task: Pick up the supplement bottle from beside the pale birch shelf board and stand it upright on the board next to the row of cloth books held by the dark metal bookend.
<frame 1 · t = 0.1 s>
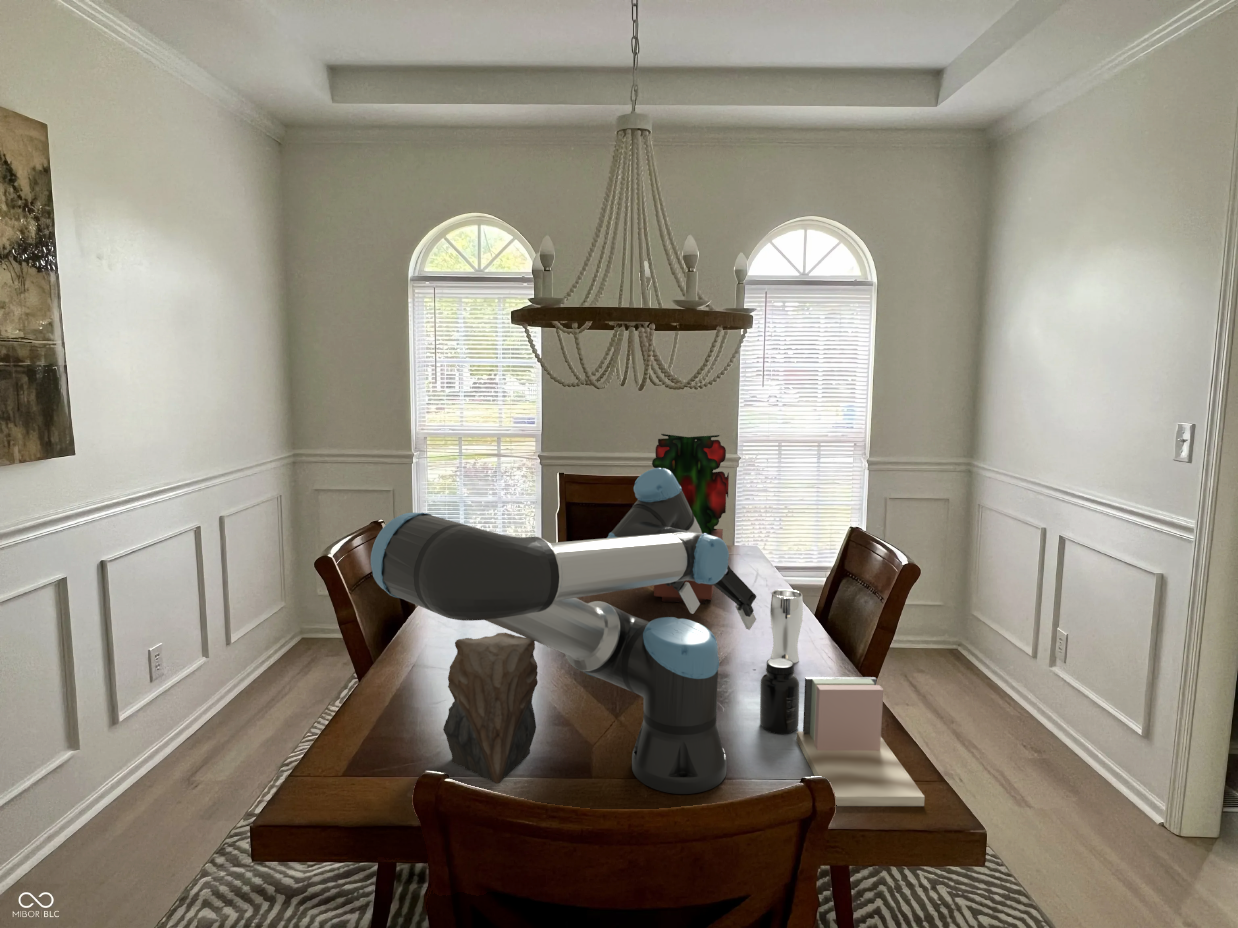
hand: (722, 616, 149), 15 cm above the table, tool tilted 35°, fingers open, 13 cm apart
book row: (845, 712, 127), on the shelf board, point 7 cm above the table
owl: (491, 762, 123), on the table
beer glass: (784, 659, 167), on the table
potted plant: (684, 596, 213), on the table
supplement bottle: (778, 727, 136), on the table
shelf board: (857, 773, 120), on the table
bookend: (839, 705, 130), on the shelf board, point 6 cm above the table
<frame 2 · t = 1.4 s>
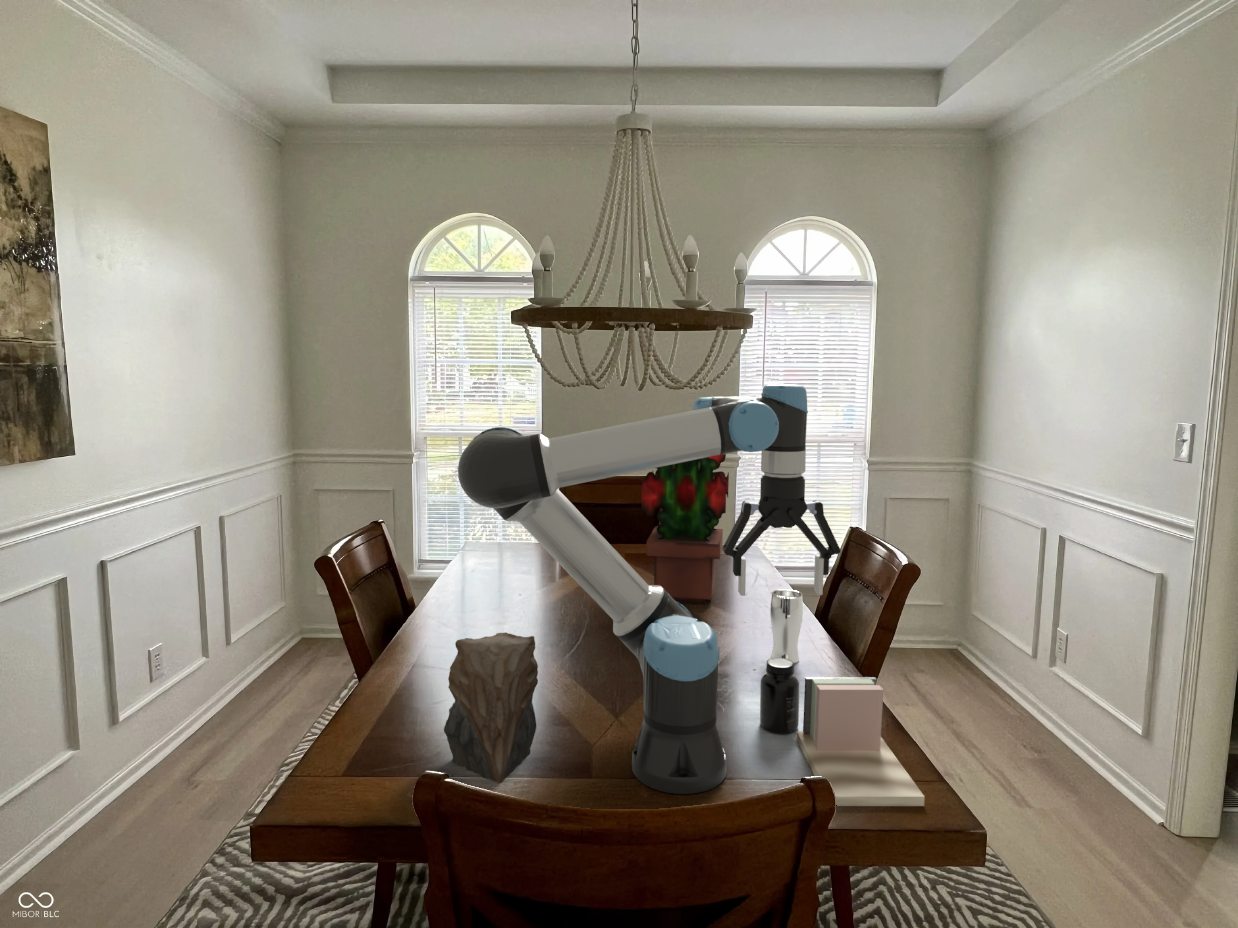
hand: (780, 593, 133), 24 cm above the table, tool pointing down, fingers open, 13 cm apart
nothing on the table moved.
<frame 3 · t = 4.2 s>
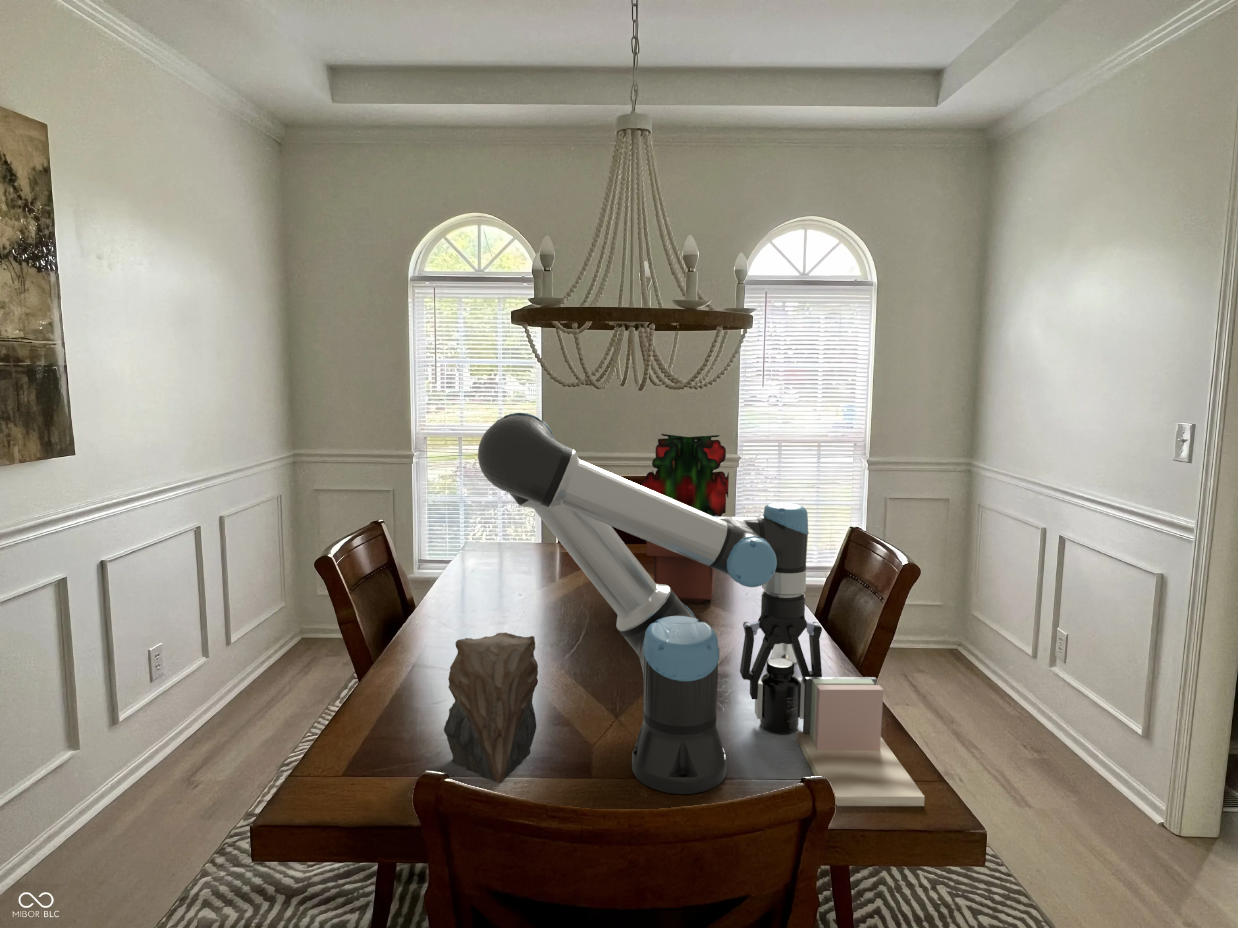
hand: (779, 715, 136), 2 cm above the table, tool pointing down, fingers closed on supplement bottle, 7 cm apart
supplement bottle: (778, 726, 136), on the table, touching gripper
everything else where it was.
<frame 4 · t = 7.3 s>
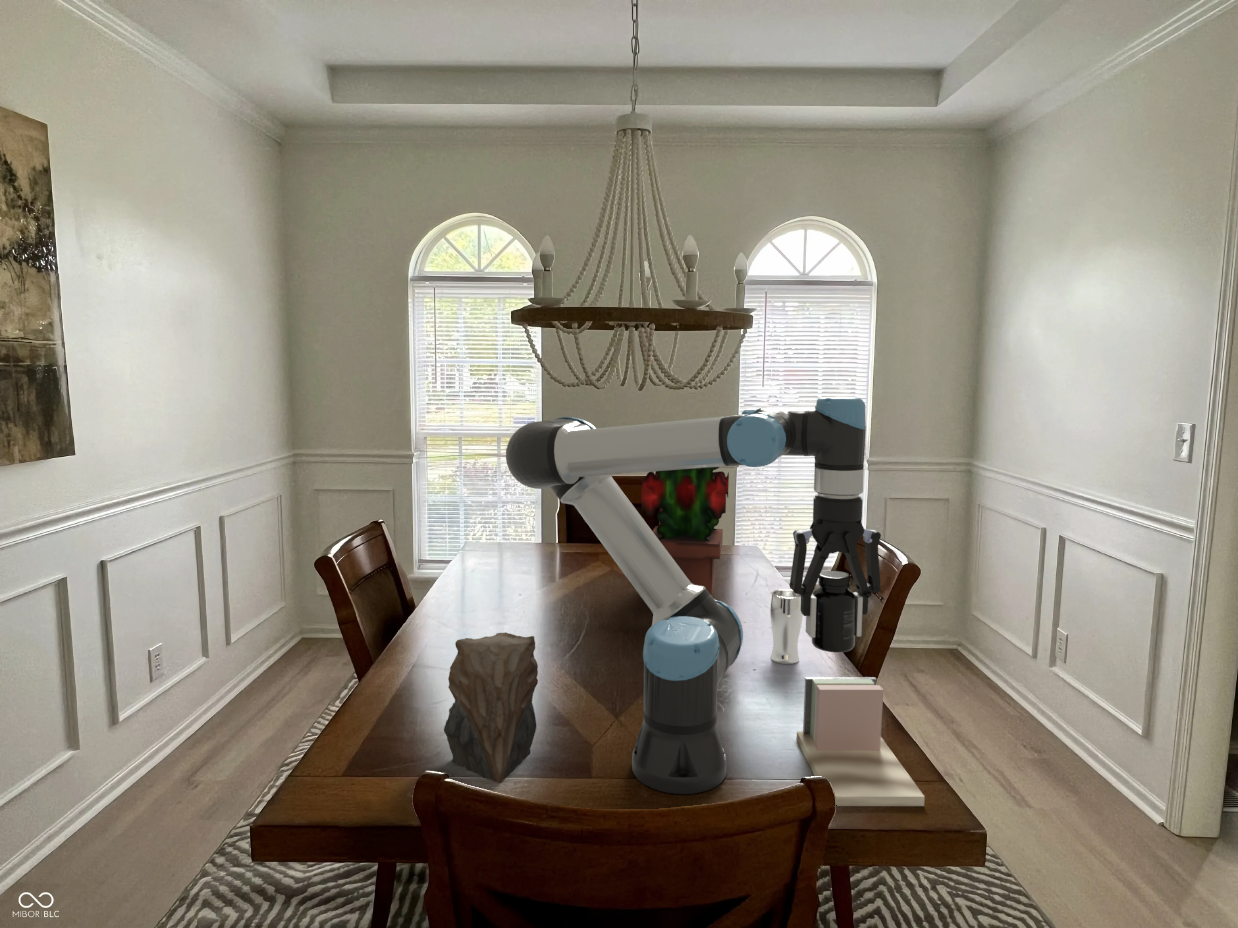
hand: (833, 633, 123), 21 cm above the table, tool pointing down, fingers closed on supplement bottle, 7 cm apart
supplement bottle: (832, 646, 123), point 19 cm above the table, touching gripper
everything else where it was.
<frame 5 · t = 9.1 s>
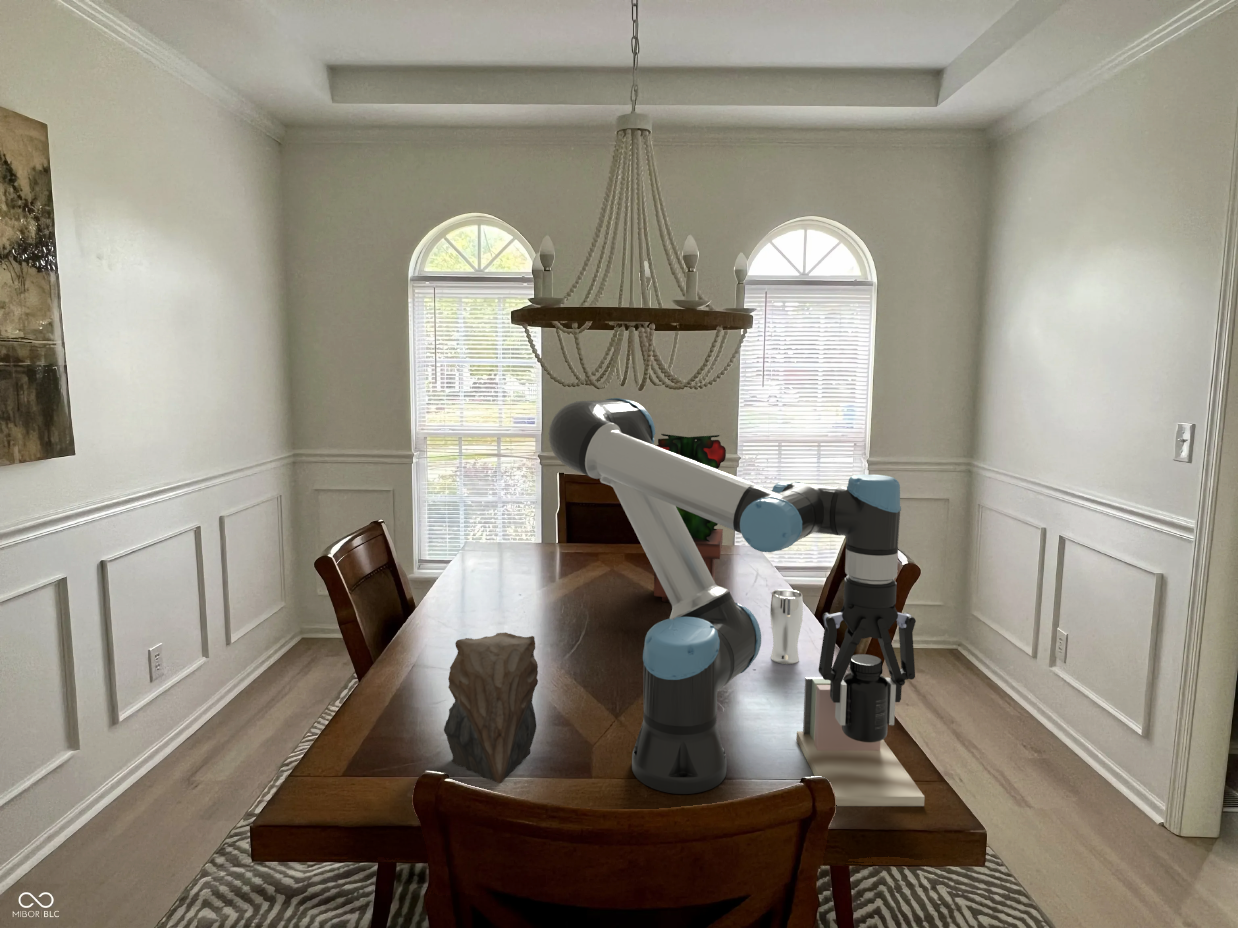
hand: (864, 720, 117), 10 cm above the table, tool pointing down, fingers closed on supplement bottle, 7 cm apart
supplement bottle: (863, 734, 118), point 7 cm above the table, touching gripper
everything else where it was.
when the fingers open (5 cm above the table, at t = 10.5 s): supplement bottle drops 1 cm, resting on shelf board.
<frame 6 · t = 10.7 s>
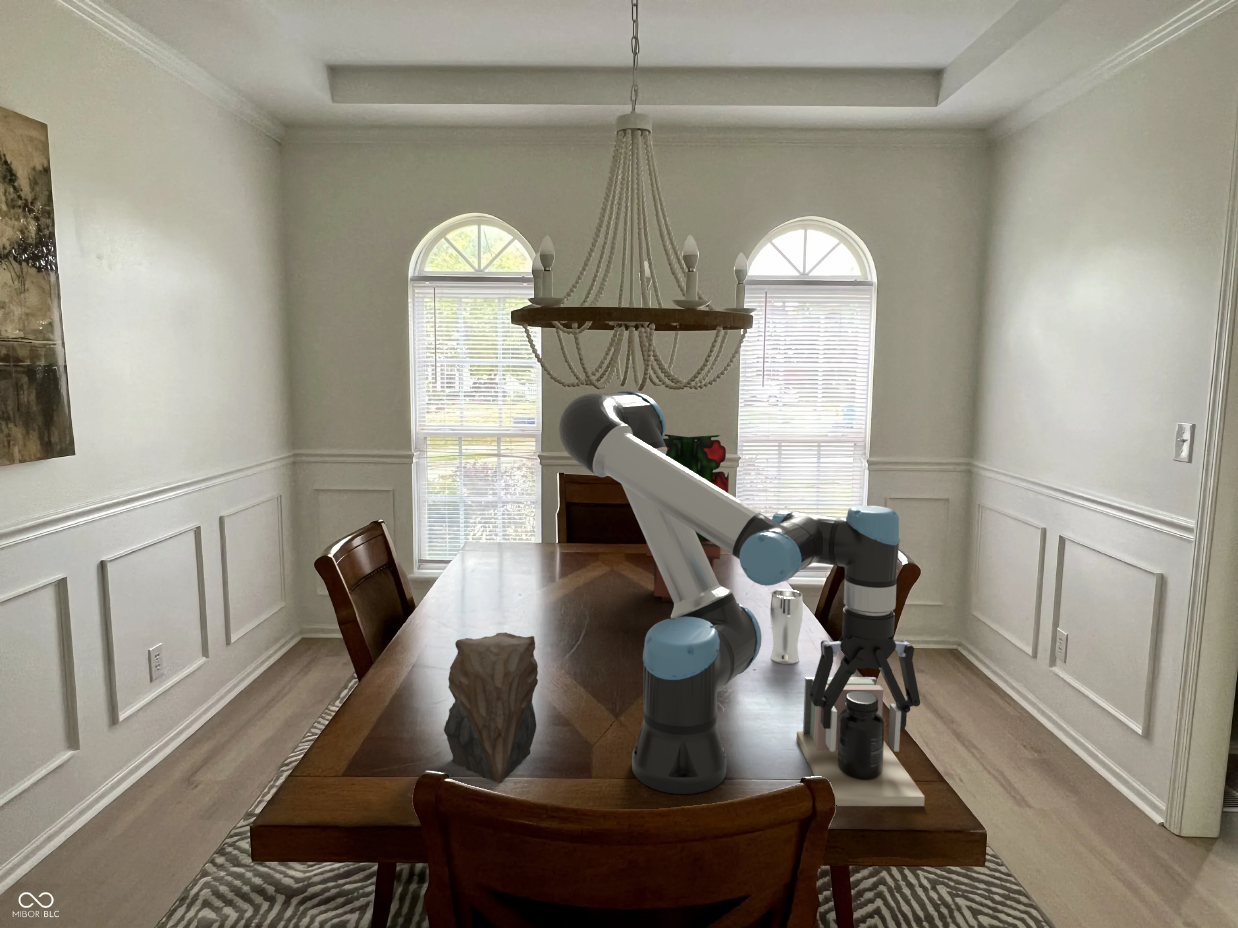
hand: (861, 746, 118), 5 cm above the table, tool pointing down, fingers open, 9 cm apart
supplement bottle: (859, 770, 119), point 1 cm above the table, touching shelf board
everything else where it was.
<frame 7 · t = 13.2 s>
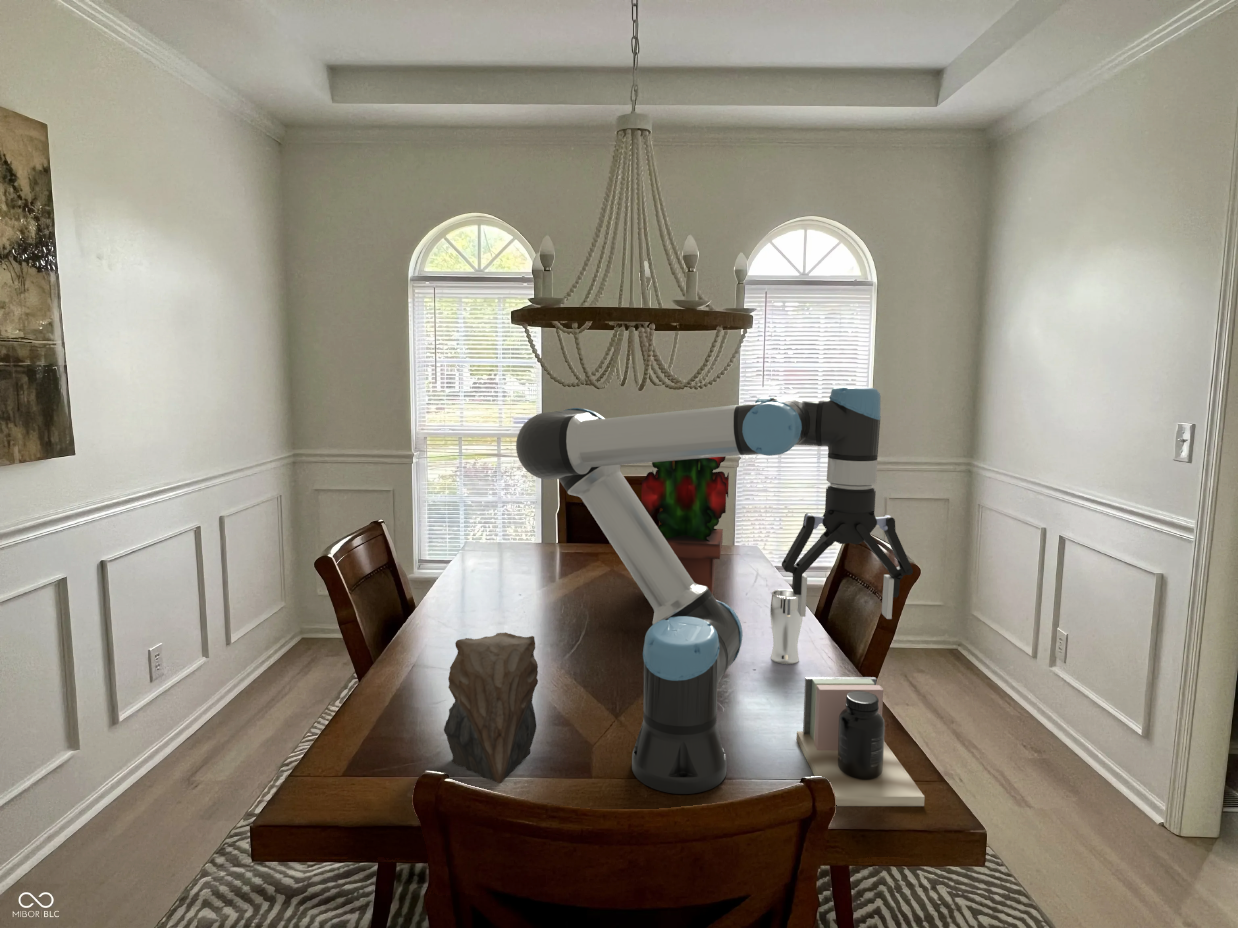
hand: (843, 615, 122), 24 cm above the table, tool pointing down, fingers open, 13 cm apart
nothing on the table moved.
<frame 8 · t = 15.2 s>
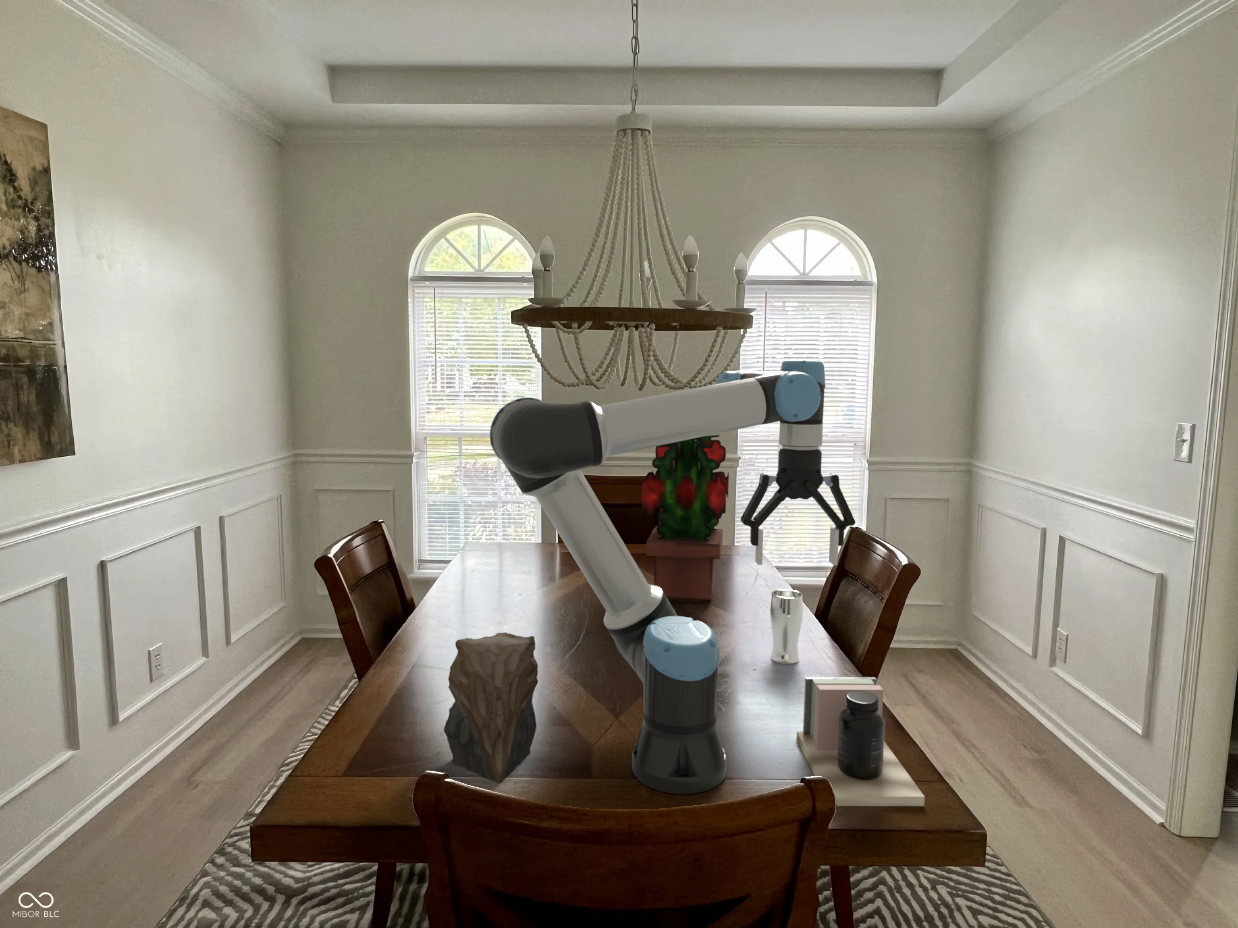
hand: (795, 563, 138), 29 cm above the table, tool pointing down, fingers open, 13 cm apart
nothing on the table moved.
at the end: supplement bottle 0.4 cm from the target spot on the shelf board, point 1.3 cm above the shelf board's base; supplement bottle tilted 0°; the gripper is holding nothing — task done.
